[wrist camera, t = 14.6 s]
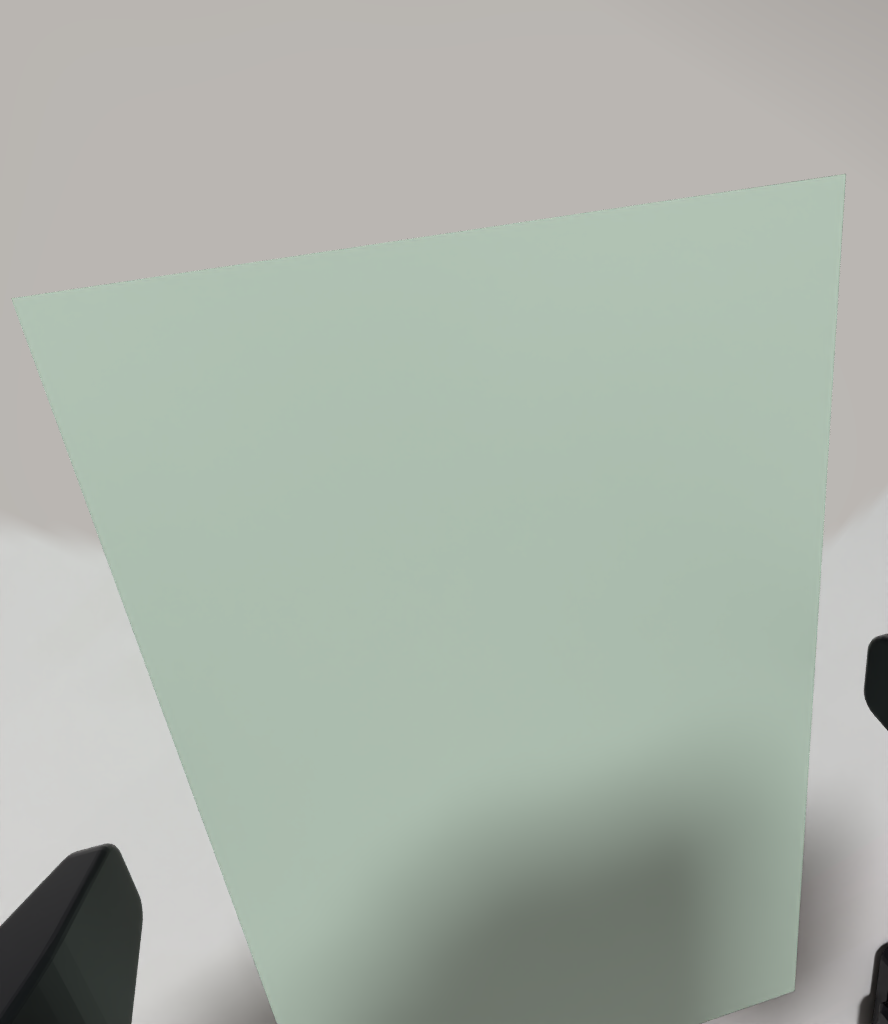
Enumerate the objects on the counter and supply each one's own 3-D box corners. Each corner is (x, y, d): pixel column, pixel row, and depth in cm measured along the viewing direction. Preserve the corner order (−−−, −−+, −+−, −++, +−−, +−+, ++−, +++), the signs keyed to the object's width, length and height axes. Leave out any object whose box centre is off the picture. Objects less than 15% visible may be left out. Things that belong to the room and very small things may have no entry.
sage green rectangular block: (580, 236, 12) (845, 173, 6) (615, 736, 16) (794, 990, 10) (171, 299, 11) (10, 297, 5) (318, 817, 15) (325, 1154, 9)
